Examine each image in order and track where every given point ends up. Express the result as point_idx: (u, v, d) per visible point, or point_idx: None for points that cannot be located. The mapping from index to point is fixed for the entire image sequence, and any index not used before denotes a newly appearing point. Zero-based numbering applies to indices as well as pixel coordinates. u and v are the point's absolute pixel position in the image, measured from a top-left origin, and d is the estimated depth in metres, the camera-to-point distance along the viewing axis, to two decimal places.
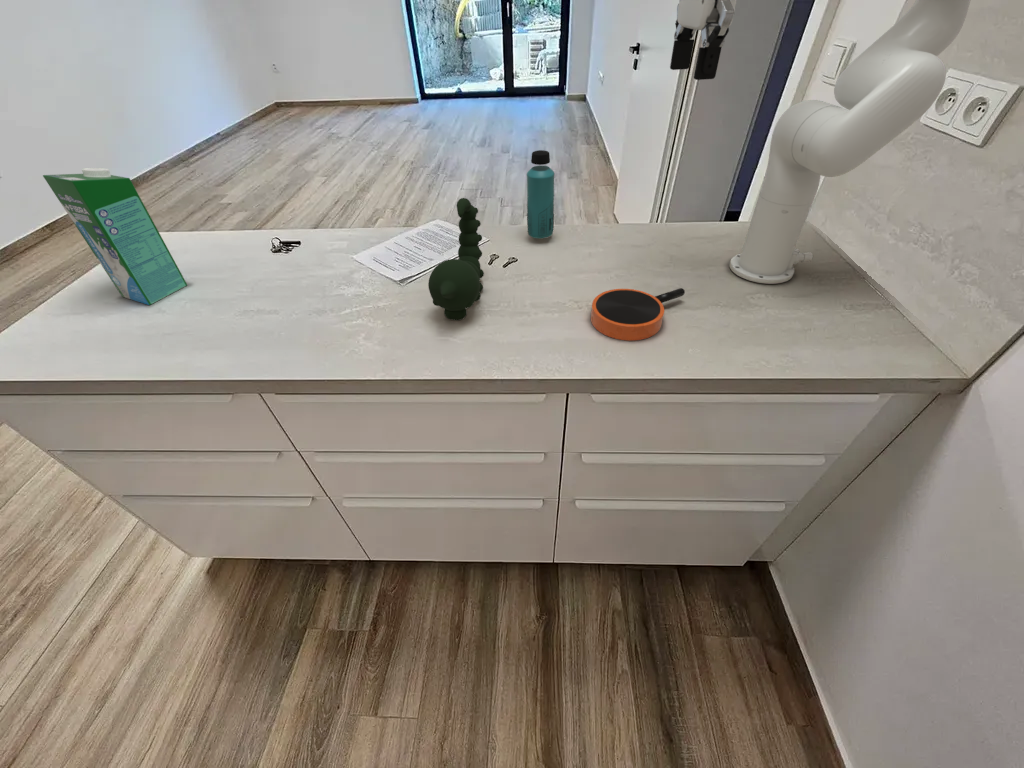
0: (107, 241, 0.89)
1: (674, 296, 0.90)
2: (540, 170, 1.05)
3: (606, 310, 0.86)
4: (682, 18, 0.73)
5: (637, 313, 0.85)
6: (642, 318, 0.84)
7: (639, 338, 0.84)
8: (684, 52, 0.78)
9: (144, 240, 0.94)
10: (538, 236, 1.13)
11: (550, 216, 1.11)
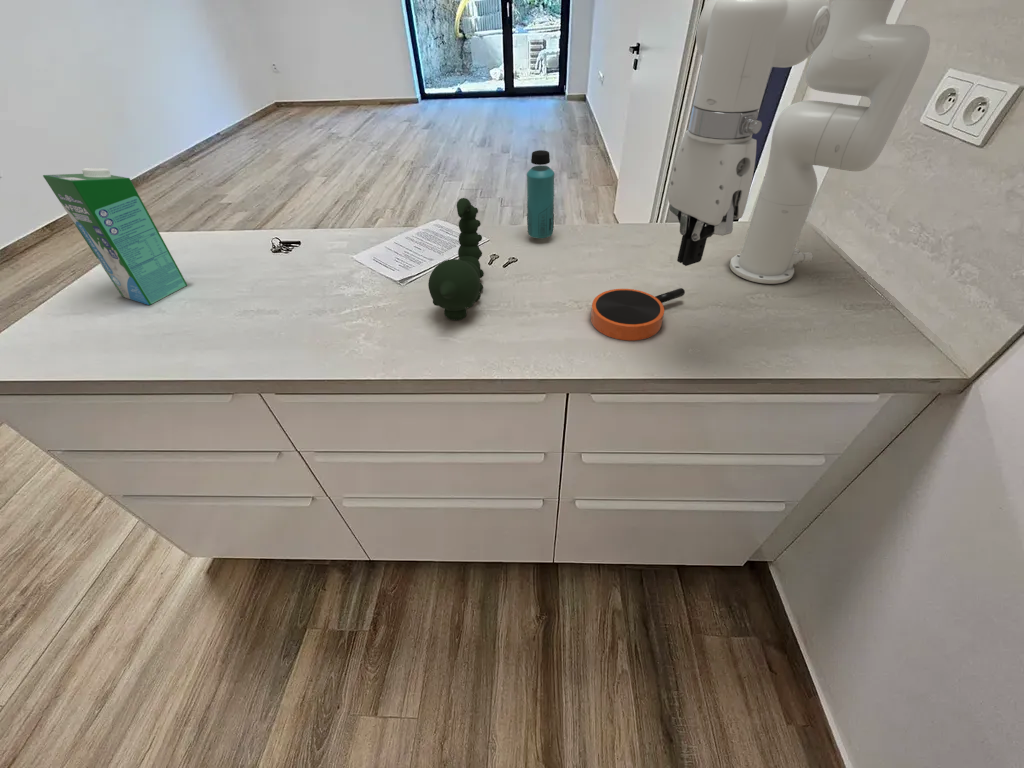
0: (107, 241, 0.89)
1: (674, 296, 0.90)
2: (540, 170, 1.05)
3: (606, 310, 0.86)
4: (679, 204, 0.65)
5: (637, 313, 0.85)
6: (642, 318, 0.84)
7: (639, 338, 0.84)
8: None
9: (144, 240, 0.94)
10: (538, 236, 1.13)
11: (550, 216, 1.11)
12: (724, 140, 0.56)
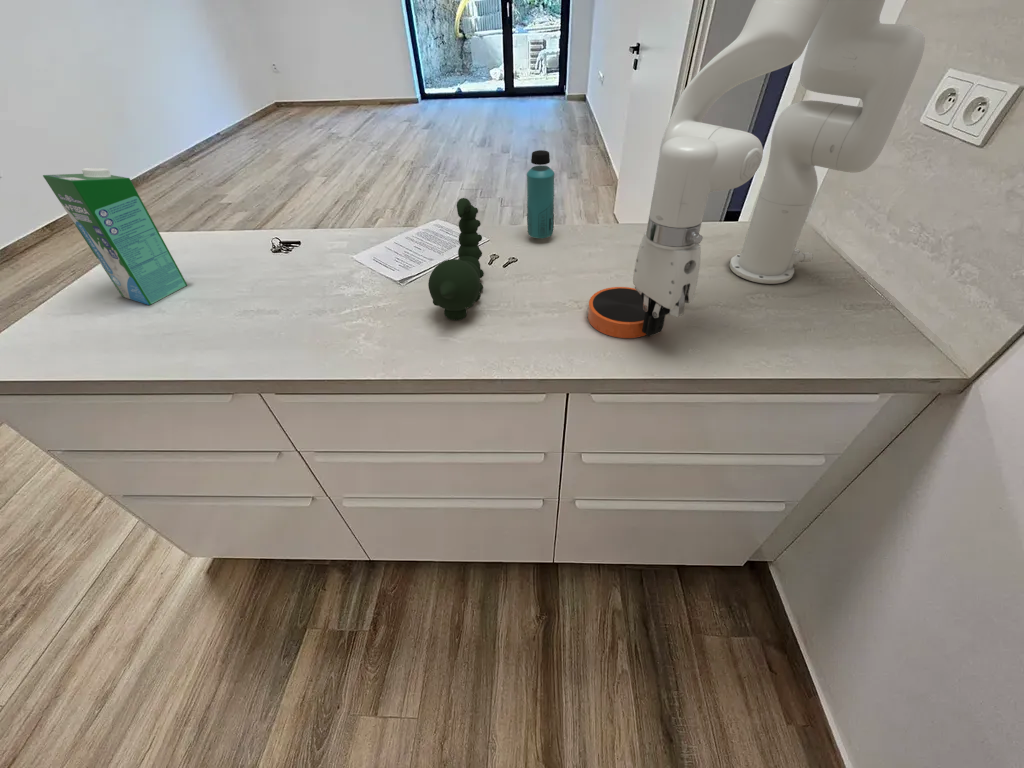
0: (107, 241, 0.89)
1: None
2: (540, 170, 1.05)
3: (602, 308, 0.86)
4: (641, 287, 0.78)
5: (634, 311, 0.85)
6: (638, 316, 0.84)
7: (635, 336, 0.84)
8: None
9: (144, 240, 0.94)
10: (538, 236, 1.13)
11: (550, 216, 1.11)
12: (673, 247, 0.68)
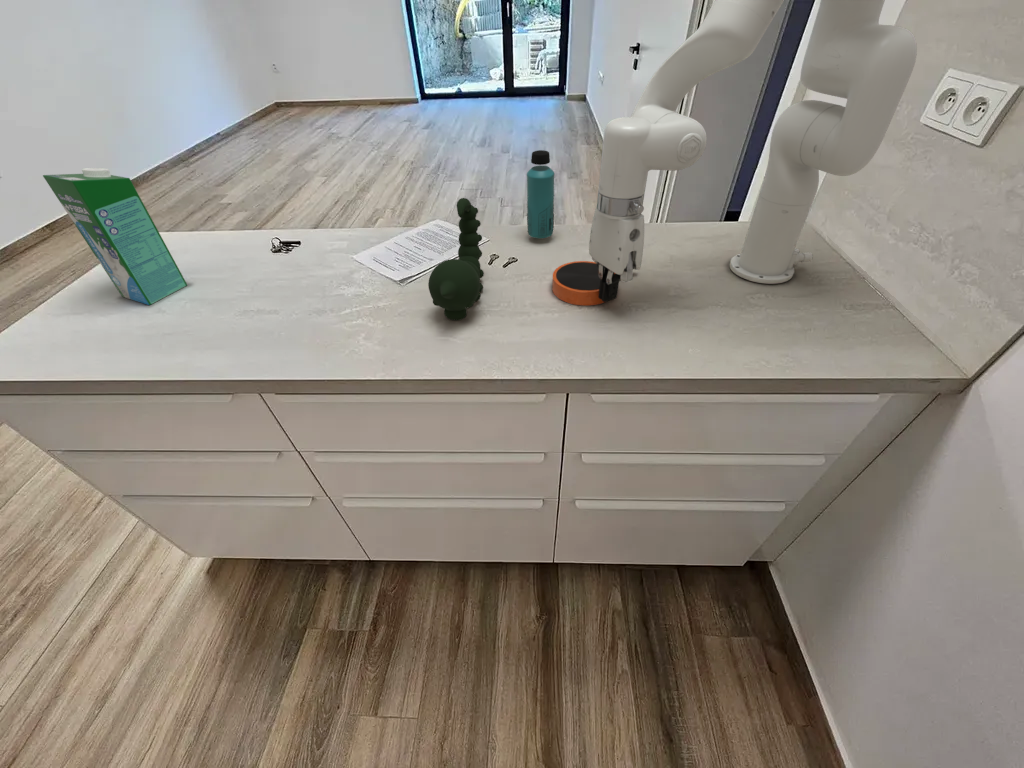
0: (107, 241, 0.89)
1: None
2: (540, 170, 1.05)
3: (564, 279, 0.95)
4: (596, 256, 0.86)
5: (592, 281, 0.94)
6: (596, 285, 0.93)
7: (593, 303, 0.93)
8: None
9: (144, 240, 0.94)
10: (538, 236, 1.13)
11: (550, 216, 1.11)
12: (619, 217, 0.77)
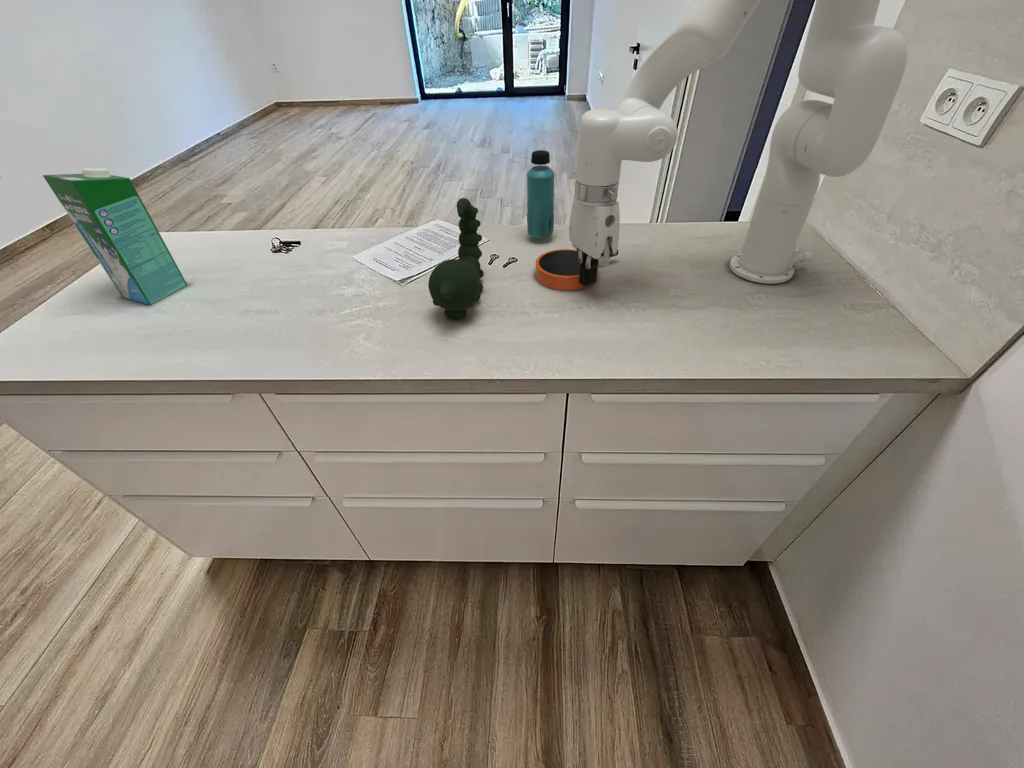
0: (107, 241, 0.89)
1: None
2: (540, 170, 1.05)
3: (546, 266, 0.99)
4: (575, 242, 0.91)
5: (573, 267, 0.98)
6: (576, 271, 0.97)
7: (574, 288, 0.97)
8: None
9: (144, 240, 0.94)
10: (538, 236, 1.13)
11: (550, 216, 1.11)
12: (595, 203, 0.81)
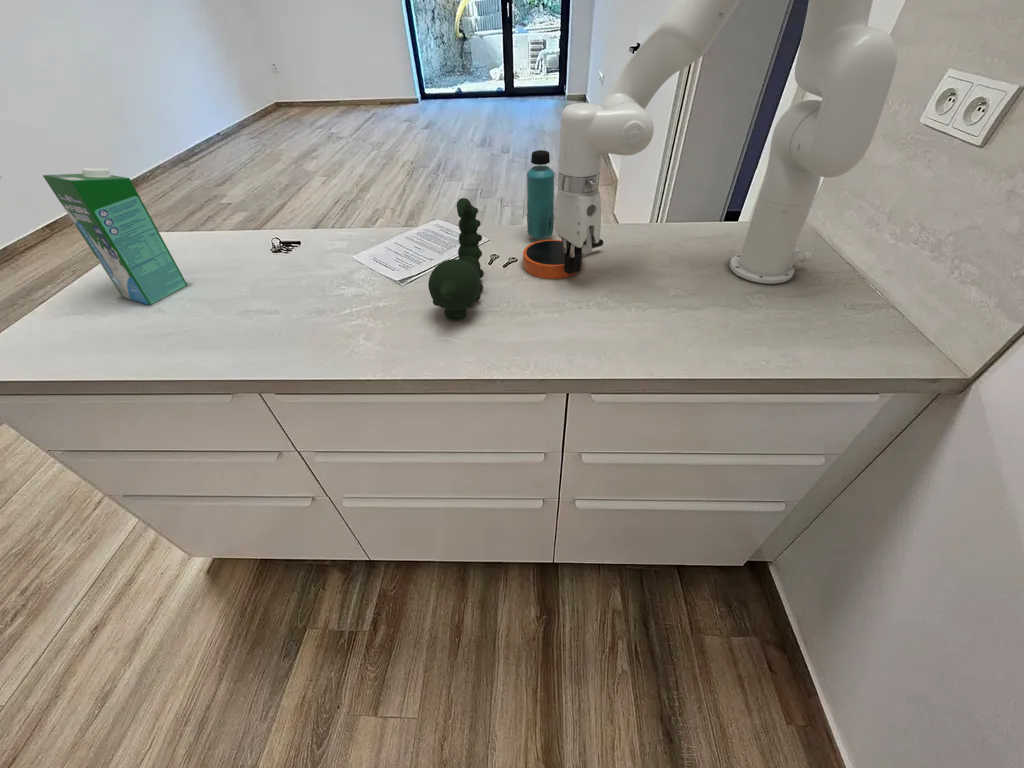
0: (107, 241, 0.89)
1: (593, 245, 1.08)
2: (540, 170, 1.05)
3: (533, 255, 1.03)
4: (560, 232, 0.95)
5: (559, 257, 1.02)
6: (562, 260, 1.01)
7: (559, 277, 1.01)
8: None
9: (144, 240, 0.94)
10: (538, 236, 1.13)
11: (550, 216, 1.11)
12: (576, 194, 0.85)
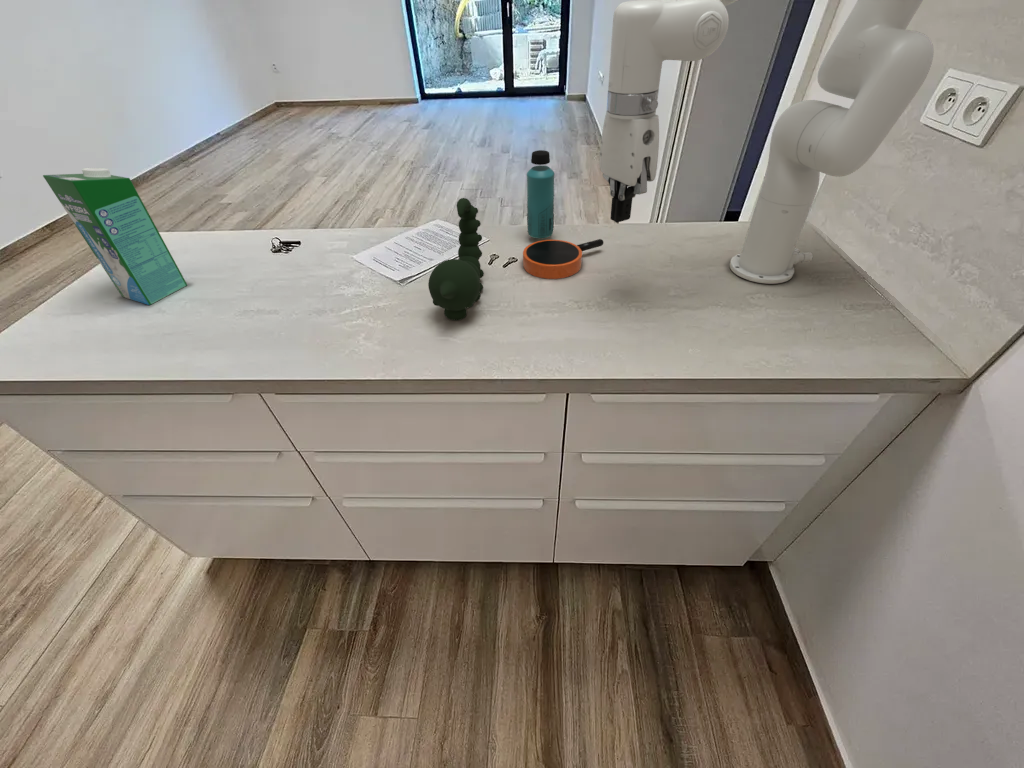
0: (107, 241, 0.89)
1: (593, 245, 1.08)
2: (540, 170, 1.05)
3: (533, 255, 1.03)
4: (607, 170, 0.80)
5: (559, 257, 1.02)
6: (562, 260, 1.01)
7: (559, 277, 1.01)
8: None
9: (144, 240, 0.94)
10: (538, 236, 1.13)
11: (550, 216, 1.11)
12: (631, 116, 0.71)
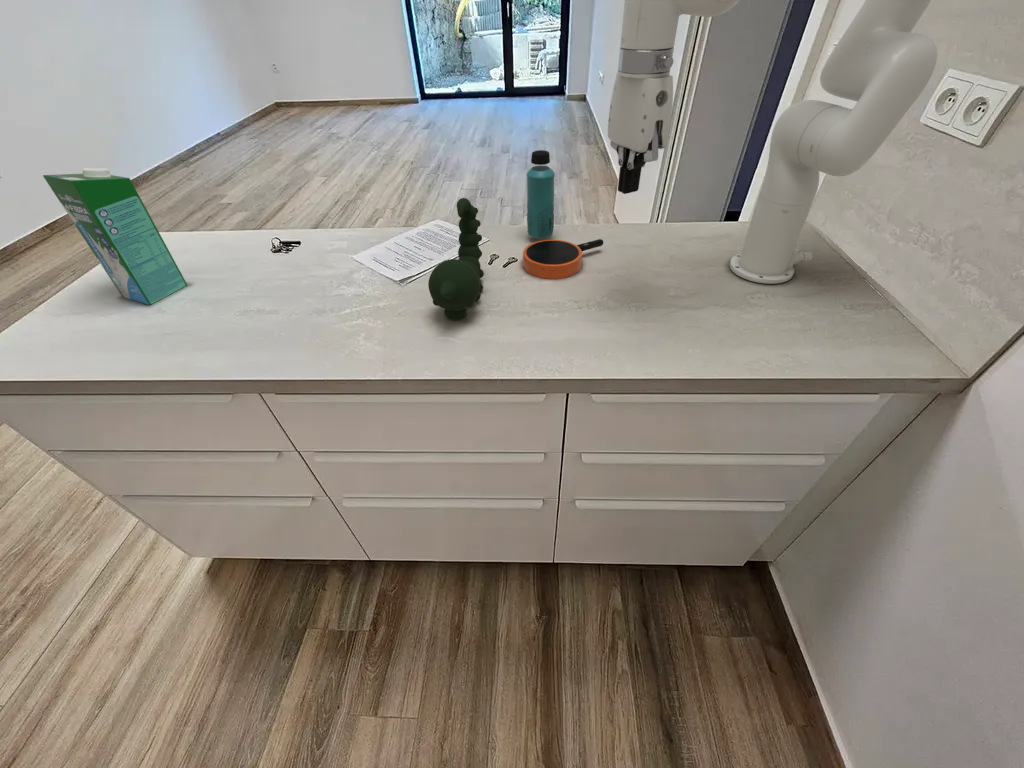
0: (107, 241, 0.89)
1: (593, 245, 1.08)
2: (540, 170, 1.05)
3: (533, 255, 1.03)
4: (616, 137, 0.76)
5: (559, 257, 1.02)
6: (562, 260, 1.01)
7: (559, 277, 1.01)
8: None
9: (144, 240, 0.94)
10: (538, 236, 1.13)
11: (550, 216, 1.11)
12: (644, 75, 0.67)
